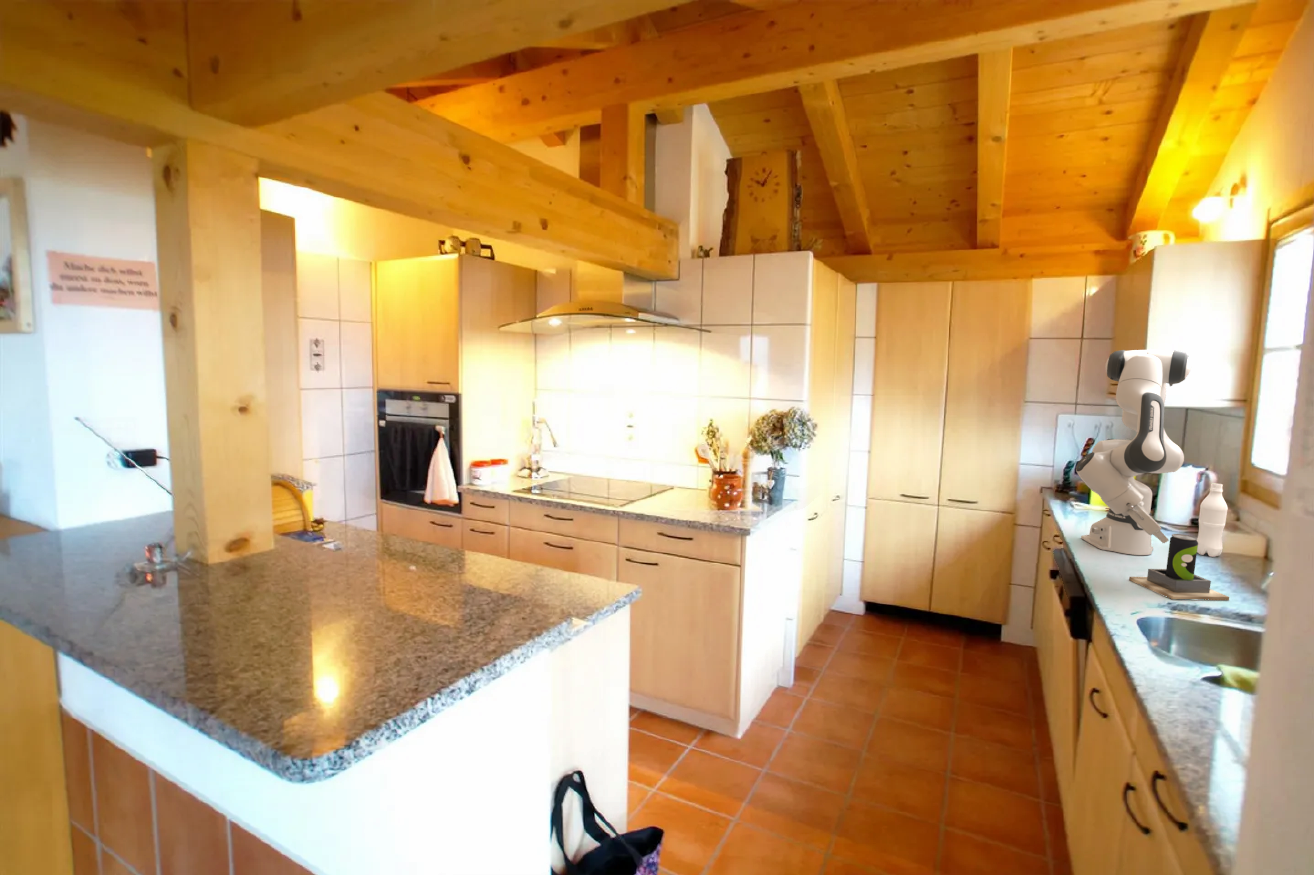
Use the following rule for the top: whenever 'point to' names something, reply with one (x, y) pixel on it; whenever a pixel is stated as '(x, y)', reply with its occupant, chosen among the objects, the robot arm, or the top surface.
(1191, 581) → the gray open box
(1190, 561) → the beverage can
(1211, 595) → the docking plate
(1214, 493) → the water bottle
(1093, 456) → the robot arm
